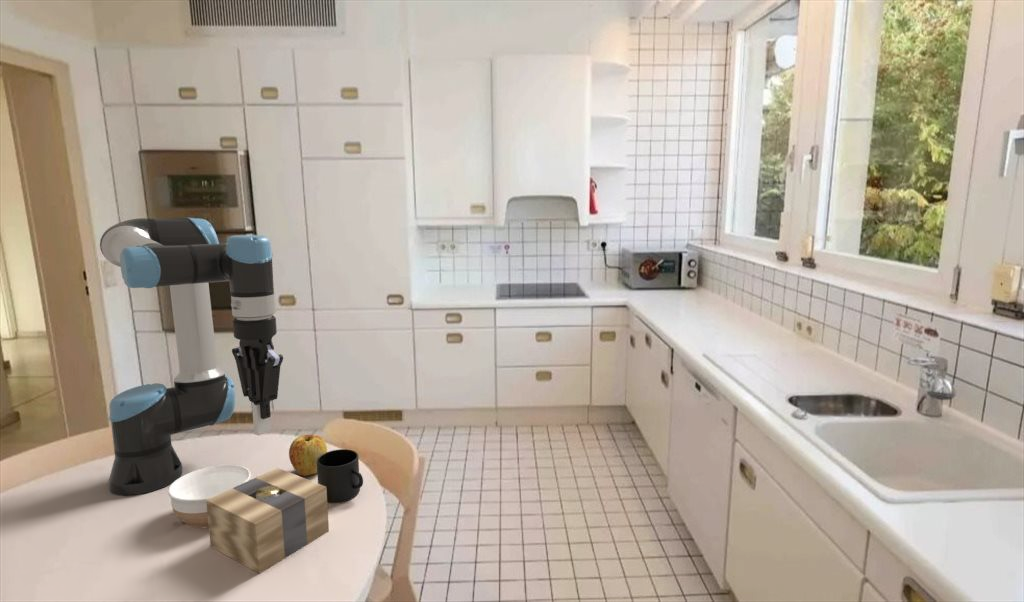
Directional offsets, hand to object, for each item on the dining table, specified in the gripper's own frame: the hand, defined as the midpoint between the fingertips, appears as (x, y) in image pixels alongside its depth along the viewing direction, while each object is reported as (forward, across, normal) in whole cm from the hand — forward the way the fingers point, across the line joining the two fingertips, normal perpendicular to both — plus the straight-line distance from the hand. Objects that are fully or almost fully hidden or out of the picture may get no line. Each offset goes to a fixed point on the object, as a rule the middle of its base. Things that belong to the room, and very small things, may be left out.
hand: (262, 432), depth 107 cm
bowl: (+24, -18, -1) cm, 30 cm away
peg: (+22, 0, 0) cm, 22 cm away
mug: (+23, 0, +20) cm, 31 cm away
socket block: (+23, 0, 0) cm, 23 cm away
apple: (+23, -16, +23) cm, 37 cm away
